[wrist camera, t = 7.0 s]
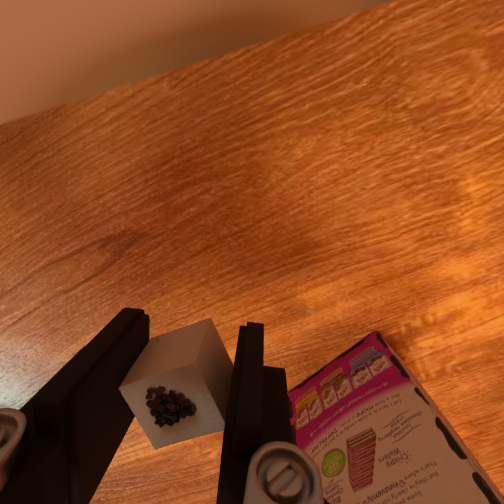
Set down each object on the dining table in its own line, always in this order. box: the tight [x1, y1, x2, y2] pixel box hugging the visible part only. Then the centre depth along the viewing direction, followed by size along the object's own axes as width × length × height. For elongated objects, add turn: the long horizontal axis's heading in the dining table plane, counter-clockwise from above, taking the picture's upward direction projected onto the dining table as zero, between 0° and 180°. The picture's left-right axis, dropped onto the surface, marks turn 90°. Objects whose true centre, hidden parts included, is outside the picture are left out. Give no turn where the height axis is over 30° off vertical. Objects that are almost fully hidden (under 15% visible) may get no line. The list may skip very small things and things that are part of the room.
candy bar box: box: [288, 332, 504, 504], centre depth 21 cm, size 11×5×16 cm, turn 133°
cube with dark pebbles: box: [118, 318, 234, 450], centre depth 8 cm, size 2×2×2 cm
